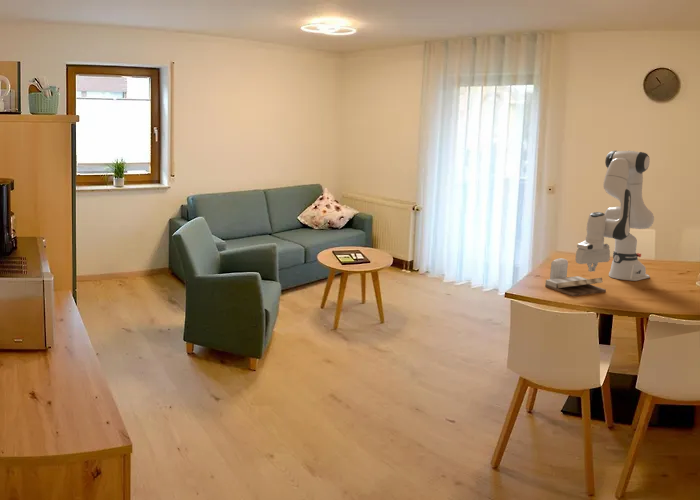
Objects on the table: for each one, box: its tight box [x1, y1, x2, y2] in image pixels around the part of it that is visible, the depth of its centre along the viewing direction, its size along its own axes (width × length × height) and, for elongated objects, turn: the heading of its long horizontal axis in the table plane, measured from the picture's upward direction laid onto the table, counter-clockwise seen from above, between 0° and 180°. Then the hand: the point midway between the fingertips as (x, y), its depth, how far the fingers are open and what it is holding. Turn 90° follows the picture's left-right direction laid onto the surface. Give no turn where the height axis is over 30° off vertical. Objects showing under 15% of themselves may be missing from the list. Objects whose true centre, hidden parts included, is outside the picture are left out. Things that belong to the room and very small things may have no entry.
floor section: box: [544, 275, 607, 297], centre depth 357 cm, size 22×20×4 cm
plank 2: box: [579, 277, 603, 286], centre depth 356 cm, size 11×9×2 cm
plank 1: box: [557, 280, 586, 288], centre depth 351 cm, size 11×9×2 cm
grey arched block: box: [549, 257, 569, 279], centre depth 372 cm, size 10×4×12 cm, turn 123°
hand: (591, 271), depth 353 cm, fingers closed
